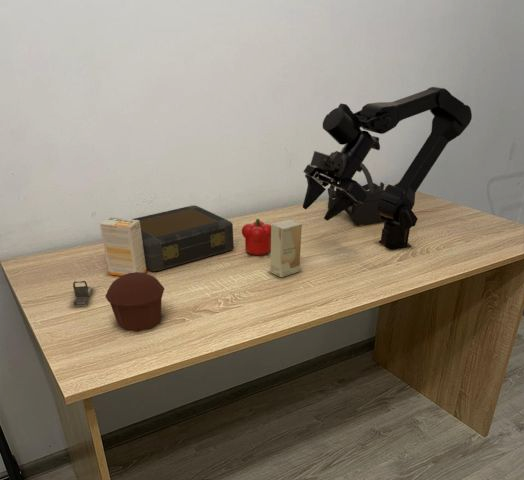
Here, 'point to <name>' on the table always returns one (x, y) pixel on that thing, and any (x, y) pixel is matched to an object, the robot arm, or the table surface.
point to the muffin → (136, 301)
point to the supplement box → (123, 246)
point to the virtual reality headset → (369, 208)
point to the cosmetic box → (285, 247)
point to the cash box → (183, 236)
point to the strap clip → (81, 294)
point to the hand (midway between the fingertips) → (314, 213)
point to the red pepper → (257, 238)
